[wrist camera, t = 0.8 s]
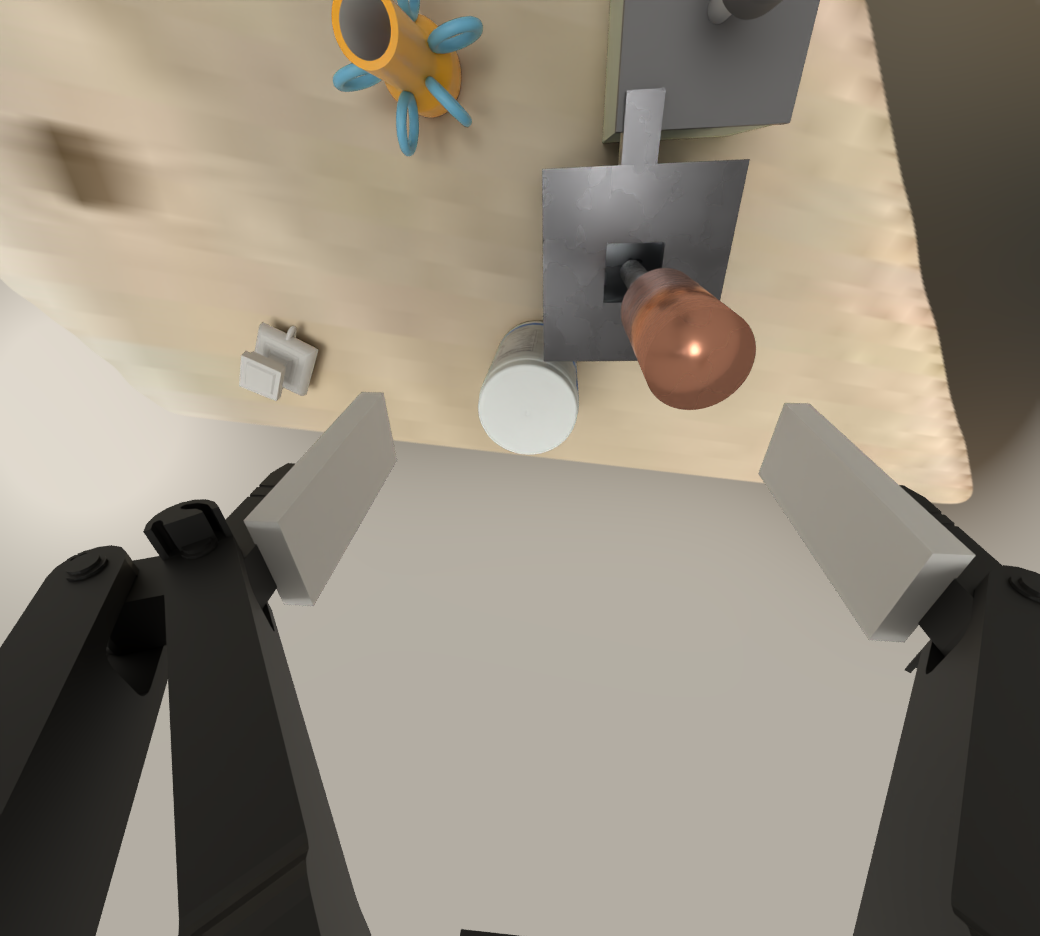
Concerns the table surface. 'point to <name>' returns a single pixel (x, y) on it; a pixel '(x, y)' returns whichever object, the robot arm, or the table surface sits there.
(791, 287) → the table surface
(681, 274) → the copper lever handle
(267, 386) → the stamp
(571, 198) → the grey box
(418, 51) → the orange looped holder
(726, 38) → the green box with knob
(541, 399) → the supplement tub
